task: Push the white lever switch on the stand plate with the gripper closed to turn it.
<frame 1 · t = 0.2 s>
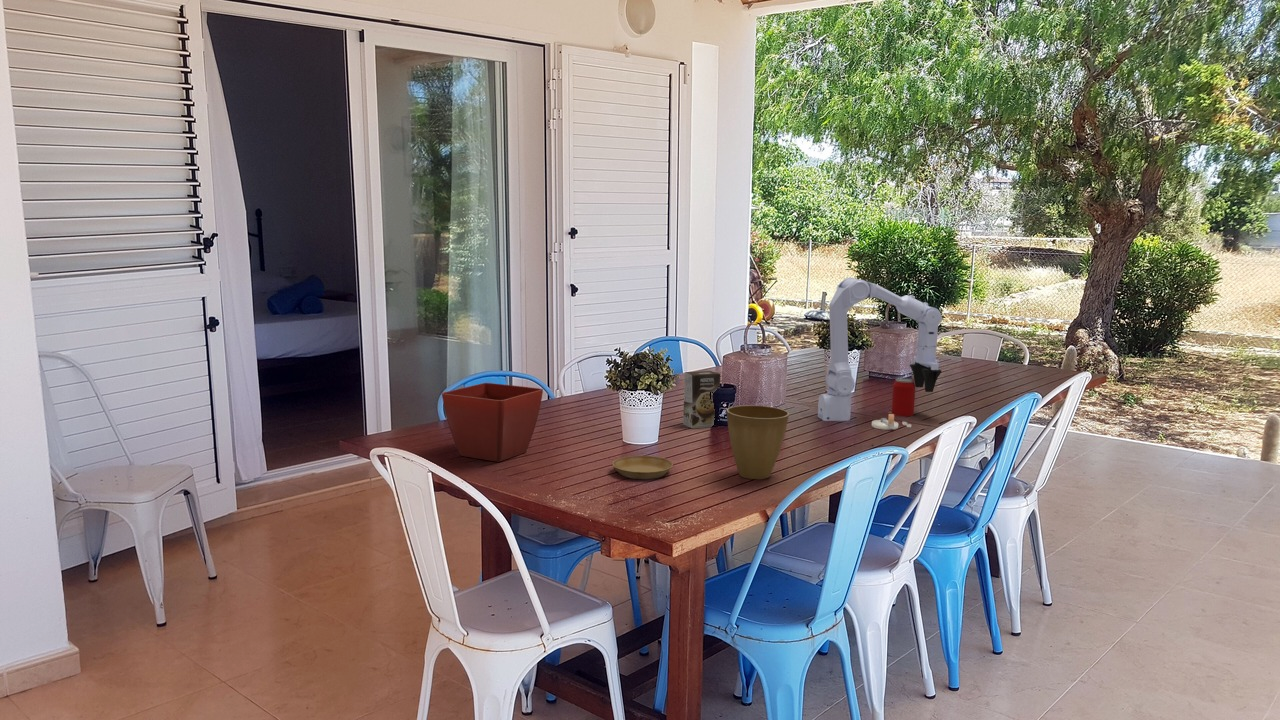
hand: (924, 389, 290), 10 cm above the table, tool pointing down, fingers open, 7 cm apart
plant pot 2: (493, 455, 245), on the table
white lever switch: (886, 419, 277), point 4 cm above the table, hinge at -90.0°
plant pot: (755, 476, 229), on the table
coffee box: (701, 426, 282), on the table
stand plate: (883, 429, 280), on the table
plant saucer: (642, 474, 230), on the table
beverage can: (902, 418, 297), on the table, touching gripper
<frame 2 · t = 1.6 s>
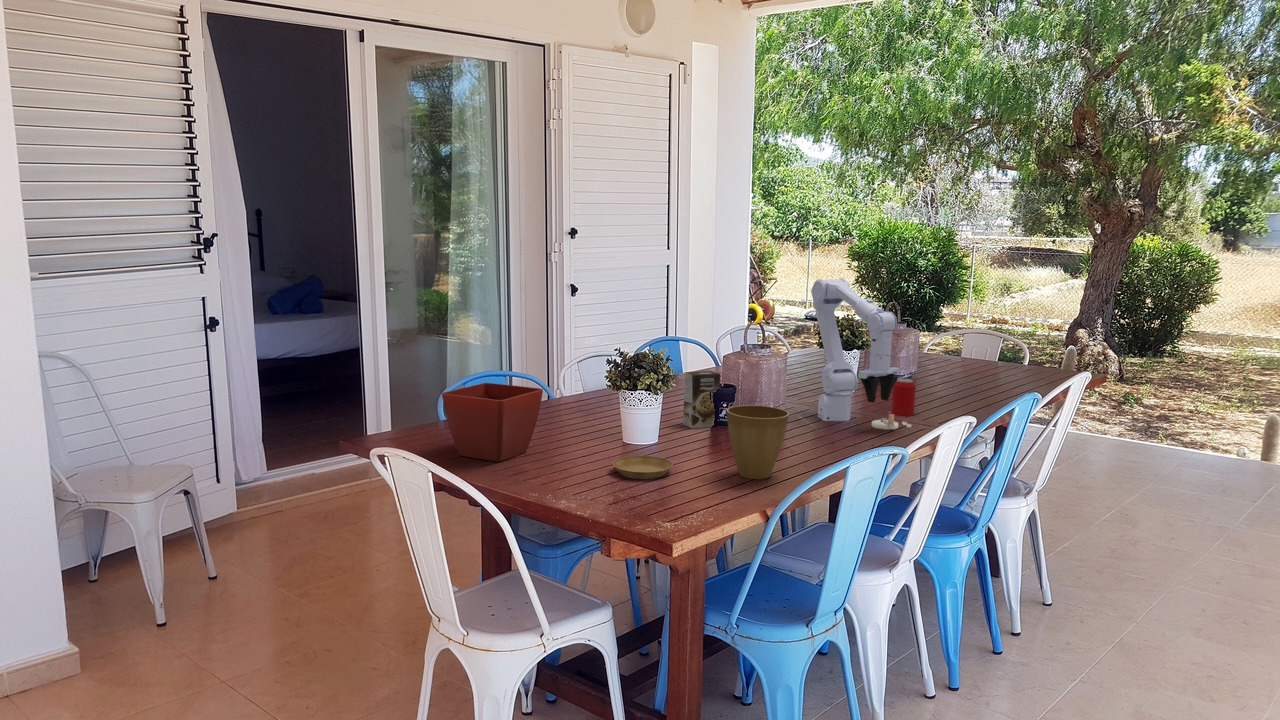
hand: (877, 401, 272), 10 cm above the table, tool pointing down, fingers open, 5 cm apart
beverage can: (902, 418, 297), on the table
everything else where it was.
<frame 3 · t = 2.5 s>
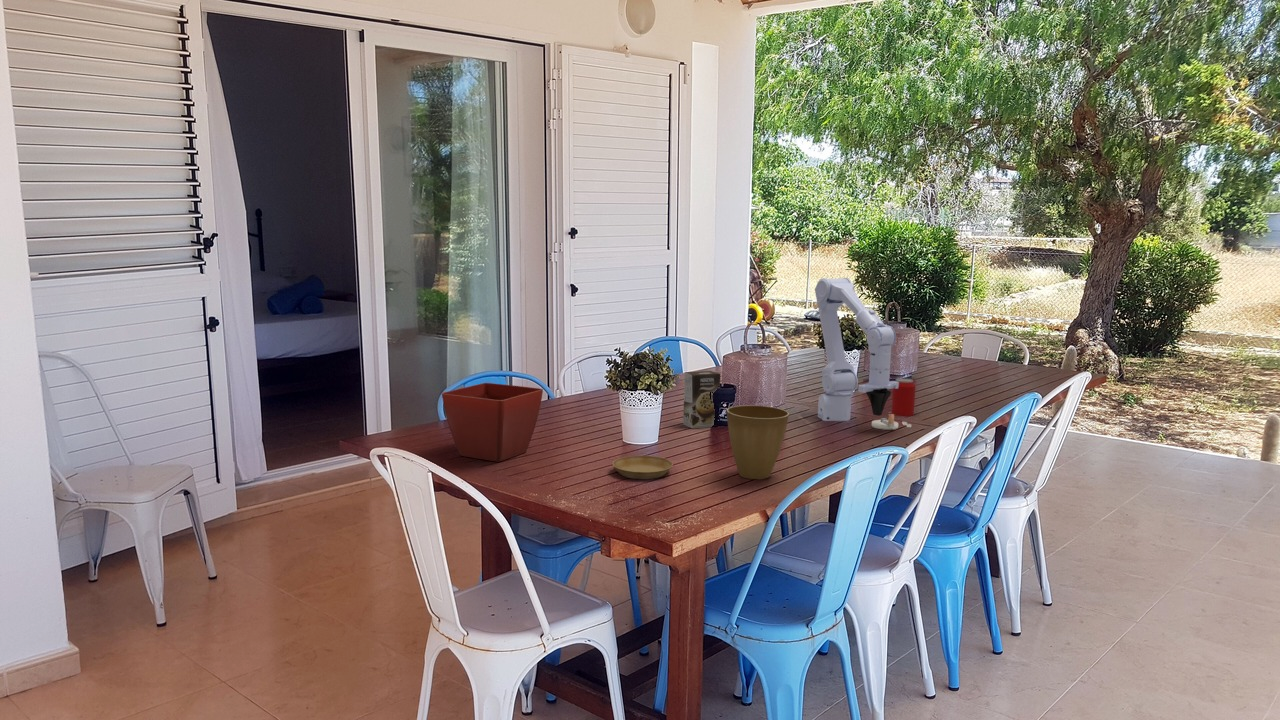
hand: (877, 414, 273), 6 cm above the table, tool pointing down, fingers closed
nothing on the table moved.
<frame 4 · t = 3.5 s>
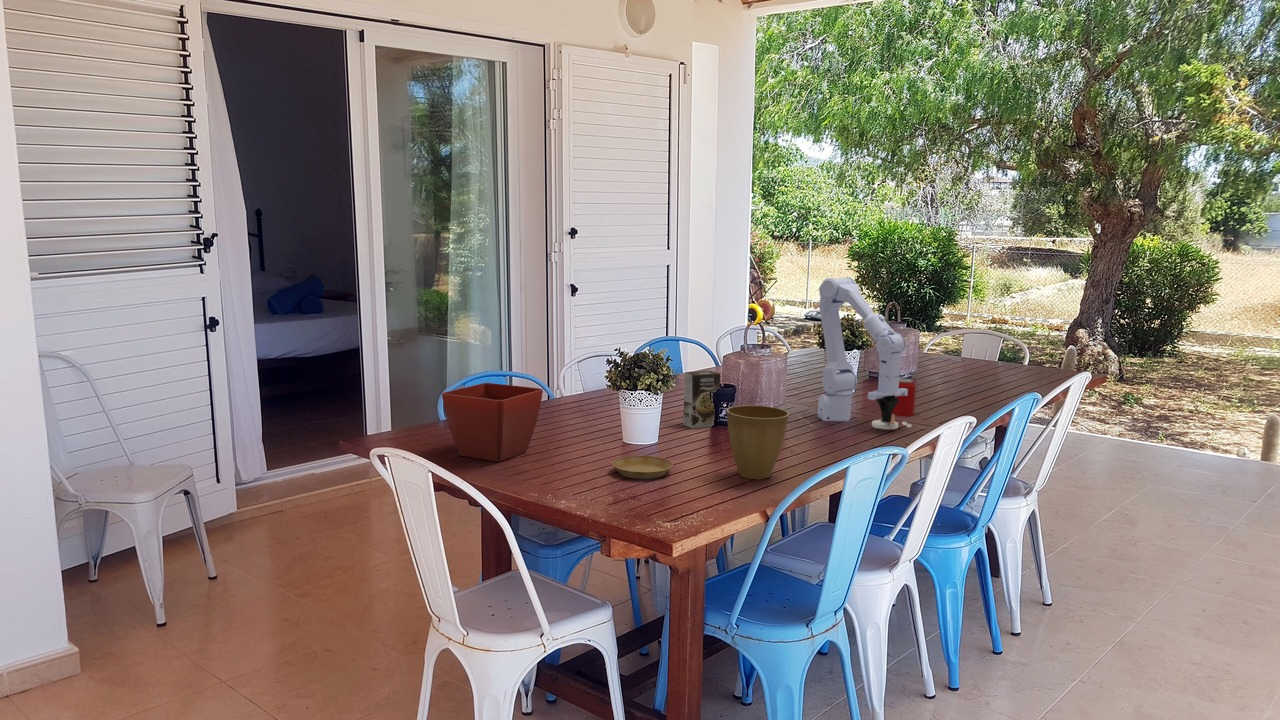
hand: (886, 421, 274), 4 cm above the table, tool pointing down, fingers closed, pressing on white lever switch
white lever switch: (886, 419, 277), point 4 cm above the table, hinge at -88.3°, touching gripper
everything else where it was.
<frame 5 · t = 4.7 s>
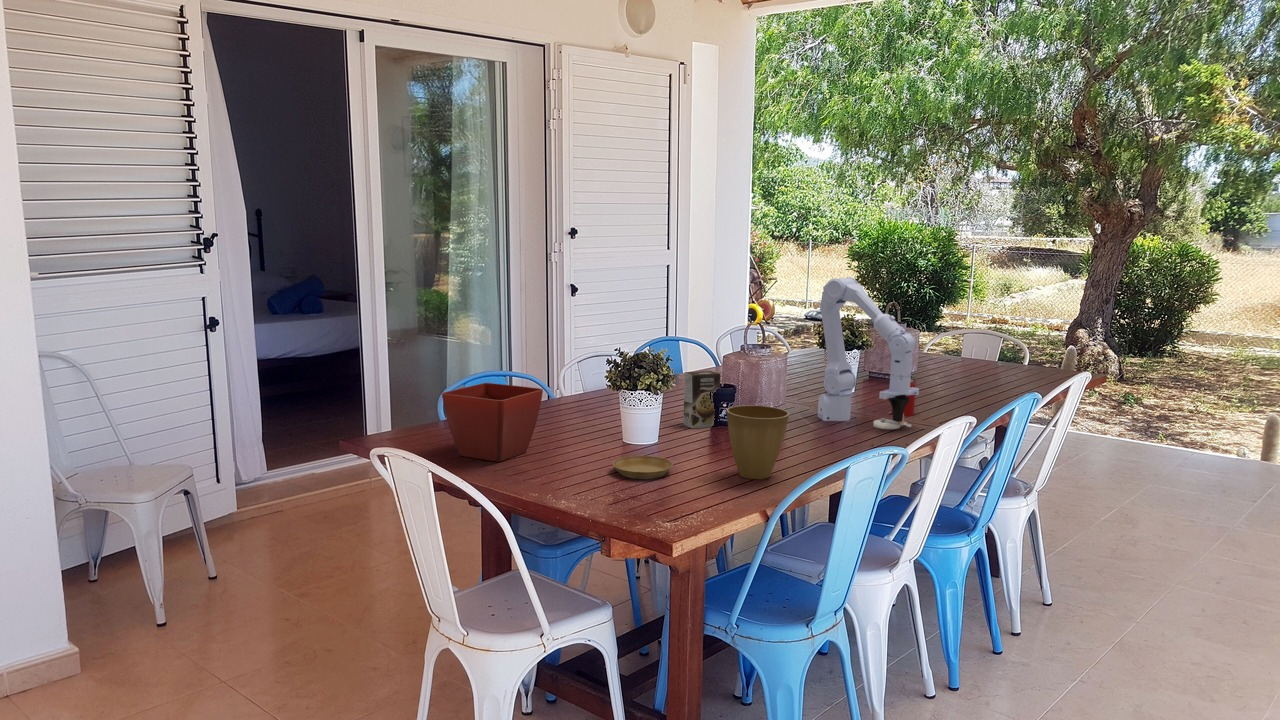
hand: (897, 420, 275), 4 cm above the table, tool pointing down, fingers closed, pressing on white lever switch
white lever switch: (889, 419, 278), point 4 cm above the table, hinge at -46.0°, touching gripper
everything else where it was.
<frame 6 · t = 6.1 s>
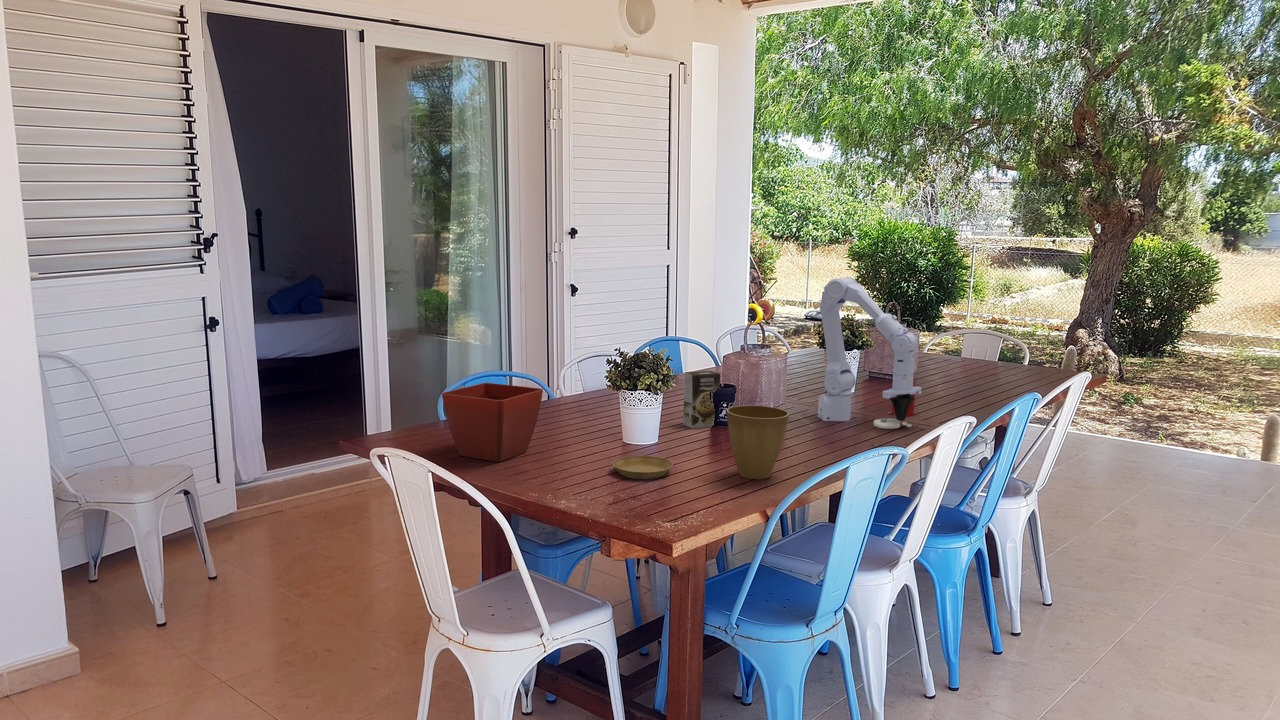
hand: (900, 420, 276), 4 cm above the table, tool pointing down, fingers closed
white lever switch: (889, 418, 279), point 4 cm above the table, hinge at -6.1°
everything else where it was.
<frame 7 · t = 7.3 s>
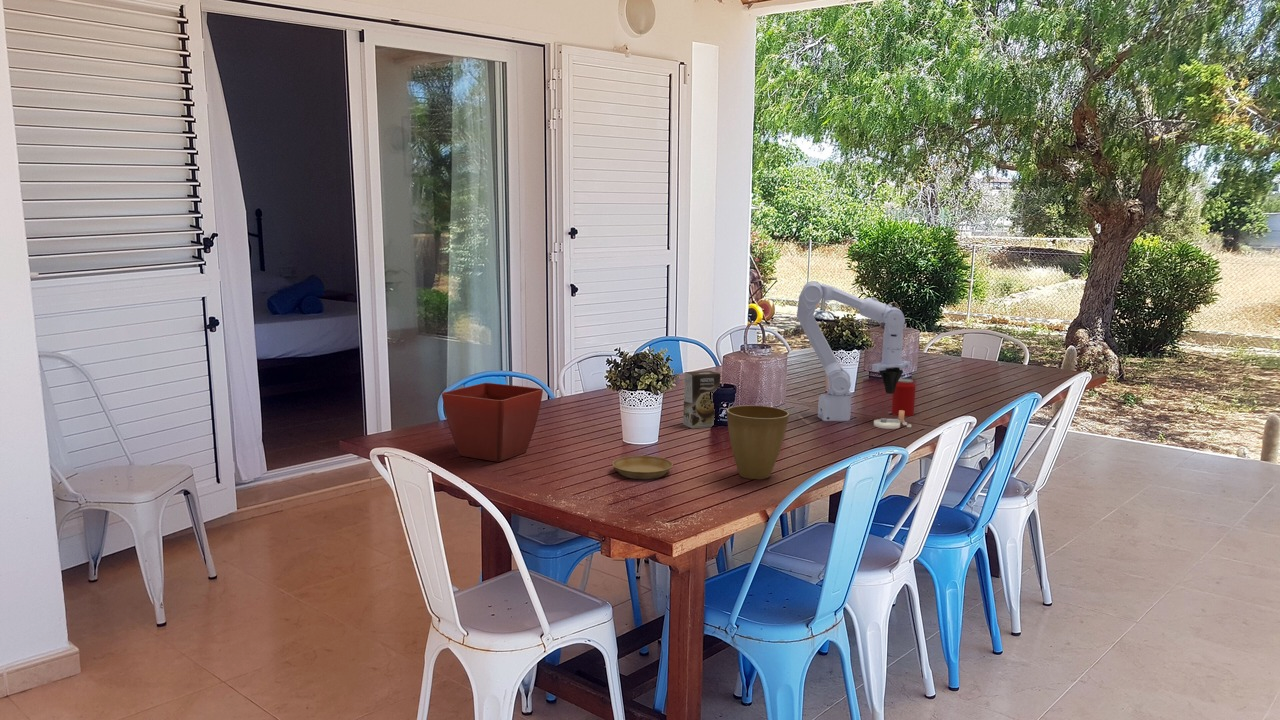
hand: (889, 393, 284), 10 cm above the table, tool pointing down, fingers closed
nothing on the table moved.
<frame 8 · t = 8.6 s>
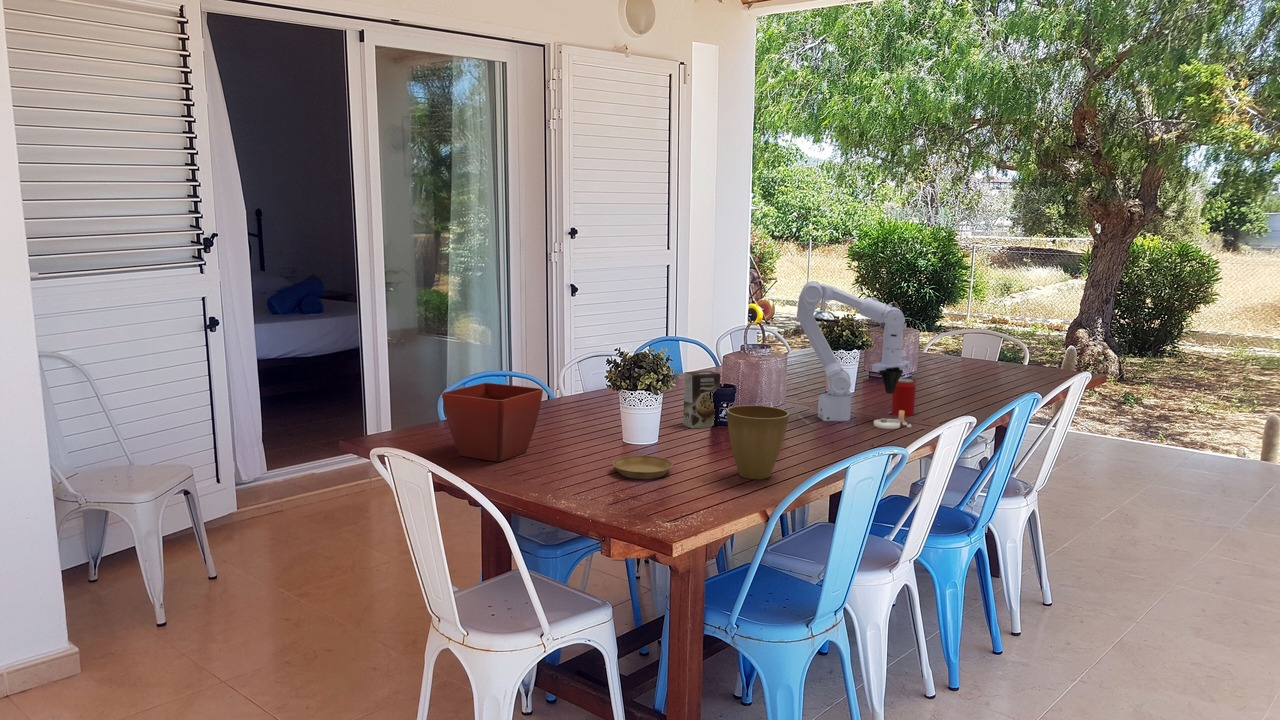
hand: (889, 393, 284), 10 cm above the table, tool pointing down, fingers closed
nothing on the table moved.
at the end: white lever switch at -6° (first picture: -90°) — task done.
